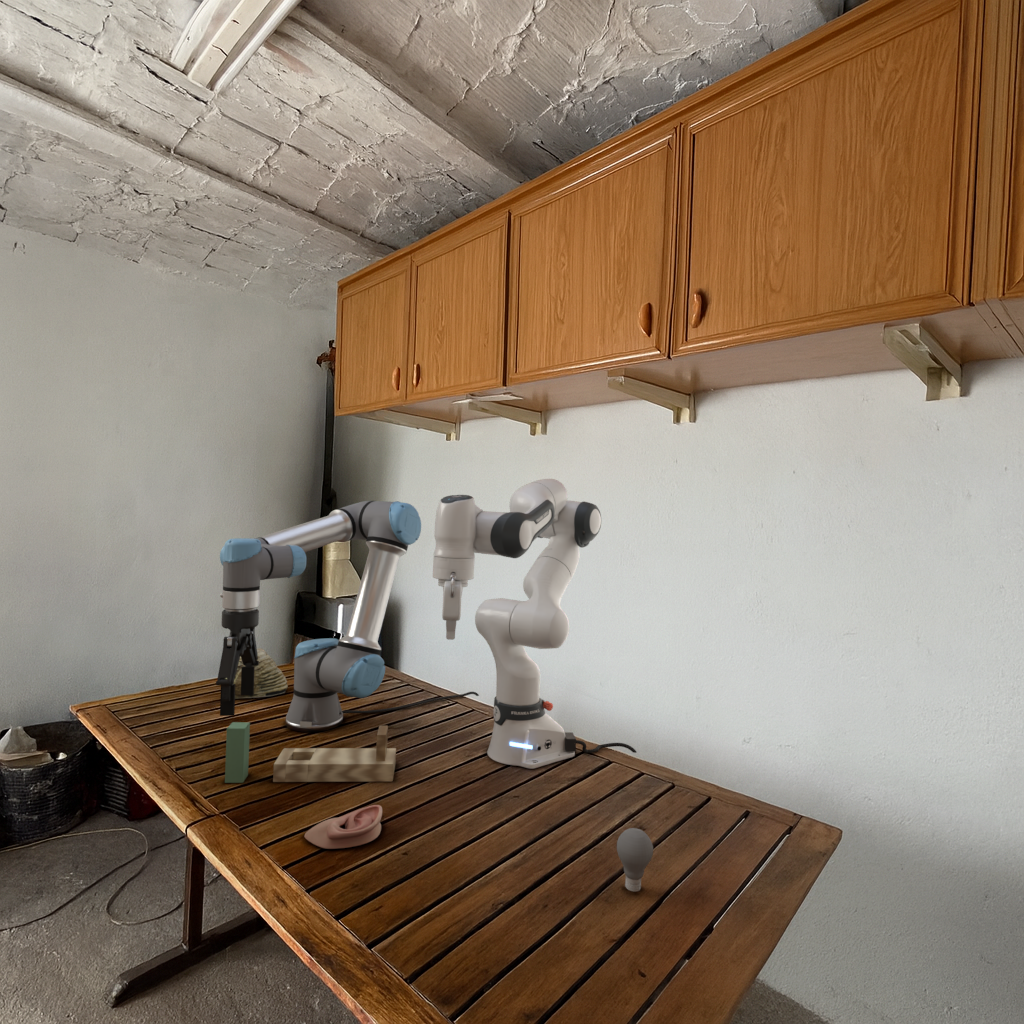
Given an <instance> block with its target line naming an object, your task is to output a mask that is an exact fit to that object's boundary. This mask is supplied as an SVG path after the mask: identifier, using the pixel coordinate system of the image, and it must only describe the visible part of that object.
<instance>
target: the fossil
mask: <svg viewBox="0 0 1024 1024" xmlns="http://www.w3.org/2000/svg"><path fill="white" fill-rule="evenodd" d="M257 655H258V660H257V661H259V665H258V666H253V667H255V671H254V695H241V669H242V666H245V665H243V662H242V659H241V657H240V660H239V664H238V668H237V672H236V675H235V679H234V684H235V700H236V699H237V700H238V699H252V698H253V699H255V698H258V699H259V698H266V697H273V696H274V697H275V696H277V695H282V694H285V693H286V691H287V690H288V687H289V685H288V680H287V678H286V676H285V674H284V673H283V671H282V669H280V668H279V667H278V666H277V663H276V661H274V659H273V658H272V657H271V656H270V655H269V654H268V653H267V651H265V649H263V648H257ZM225 679H227V678H225Z"/></svg>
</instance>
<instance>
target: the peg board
mask: <svg viewBox="0 0 1024 1024" xmlns="http://www.w3.org/2000/svg"><path fill="white" fill-rule="evenodd" d="M376 733H377V734H376V746H375V747H333V748H332V747H284V748H283V749H282V750H281V752H280V754H279V755H278V757H277V758H276V760H275V762H274V763H273V773H272V776H273V777H272V782H273V783H307V782H308V783H315V782H316V783H317V782H318V783H336V782H338V783H339V782H340V783H341V782H342V783H343V782H344V783H345V782H347V783H349V782H350V783H351V782H353V783H355V782H363V783H364V782H367V783H369V782H394V781H393V780H394V775H395V769H396V760H397V759H396V758H397V748H396V747H392V748H391V747H389V748H388V740H389V739H388V737H389V725H379V726H378V730H377V732H376Z"/></svg>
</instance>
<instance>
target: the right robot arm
mask: <svg viewBox="0 0 1024 1024" xmlns="http://www.w3.org/2000/svg"><path fill="white" fill-rule="evenodd" d="M438 501H439V502H438V505H437V507H436V513H435V521H434V533H433V534H434V539H435V547H434V552H433V558H432V578H433V579H436V580H438V583H437V585H438V586H439V587H442V612H441V613H442V614H441V616H442V620H443V621H445V629H446V630H445V631H446V633H445V634H446V635H445V638H446V640H449V641H451V640H455V639H456V629H457V622H458V621H459V622H460V620H461V615H462V614H461V613H462V598H463V597H462V596H463V591H464V588H467V587H468V585H469V584H468V582H469V581H471V580H473V579H474V578H475V559H476V558H475V554H482V555H489V556H490V555H492V556H501V557H505V558H511V559H518V558H520V557H523V555H524V554H526V553H527V552H528V550H529V549H530V547H531V545H532V543H533V542H534V541H535V540H536V539H537V538H539V539H549V540H548V544H547V546H546V547H545V548H544V549H543V550H542V551H541V553H539V555H538V556H537V558H536V559H535V561H534V562H533V564H532V565H531V566H530V568H529V570H528V571H527V573H526V574H525V576H524V578H523V582H522V588H523V591H524V594H525V596H526V597H527V598H528V599H526V600H518V599H510V598H504V597H501V598H499V597H498V598H489V599H488V598H487V599H484V600H483V601H482V602H481V603H480V604H479V606H478V607H477V609H476V611H475V615H474V624H475V627H476V630H477V632H478V634H479V635H481V636H482V638H483V639H484V640H485V641H486V643H487V645H488V647H489V649H490V651H491V654H492V657H493V661H494V664H495V672H496V673H495V674H496V675H495V676H496V677H495V678H496V687H495V688H496V689H495V690H496V691H495V697H494V700H493V713H492V714H493V727H492V732H491V737H490V742H489V744H488V745H489V746H488V748H487V751H486V754H487V756H488V757H489V758H490V759H491V760H492V761H494V762H496V763H499V764H504V765H508V766H509V765H510V766H515V767H516V766H518V767H522V768H526V769H530V770H531V769H537V768H540V767H541V768H542V767H544V766H547V765H550V764H554V763H556V762H560V761H563V760H567V759H570V758H573V757H575V756H576V753H575V752H576V751H577V745H581V746H582V752H583V753H585V754H593V753H597V752H599V751H600V749H605V748H613V747H621V748H626V749H628V750H629V751H630V752H632V753H633V754H634V753H635V754H636V753H637V750H636V749H635V748H634V747H632V746H631V745H630V744H627V743H623V742H609V743H603V744H602V743H601V744H598V745H596V747H595V748H591V749H587V744H586V742H584V741H583V740H581V739H577V738H576V736H575V734H574V732H572V731H571V732H567V731H566V732H565V730H564V728H563V727H562V726H561V724H560V723H558V722H557V721H556V720H555V719H554V718H553V717H551V716H550V715H549V714H548V713H546V710H547V711H548V712H551V711H552V710H553V709H554V704H553V703H552V702H550V701H548V700H546V701H545V700H544V699H542V698H541V697H540V696H541V677H542V676H541V669H540V666H539V665H538V664H537V662H535V661H534V660H533V659H532V658H531V657H530V656H529V654H528V653H527V651H526V648H525V647H528V648H534V649H539V650H547V649H548V650H552V649H559V648H560V647H562V646H563V645H564V643H565V642H566V641H567V639H568V637H569V633H570V628H571V627H570V621H569V620H570V619H569V618H568V615H567V613H566V612H565V611H564V610H563V608H562V606H561V601H562V598H563V596H564V594H565V592H566V590H567V588H568V586H569V584H570V583H571V581H572V580H573V577H574V575H575V573H576V571H577V568H578V564H579V561H580V557H581V554H580V548H586V547H587V546H589V544H590V542H592V541H593V540H594V539H595V538H596V537H597V535H599V532H600V530H601V527H602V514H601V511H600V509H599V507H598V506H597V505H596V504H594V503H591V502H588V501H575V500H568V490H567V488H566V487H565V485H564V484H563V483H562V482H561V481H559V480H557V479H555V478H542V479H538V480H534V481H530V482H528V483H526V484H524V485H522V486H520V487H519V488H518V489H516V490H515V491H514V492H513V493H512V495H511V497H510V499H509V511H508V512H505V511H487V510H484V509H481V508H480V507H479V506H477V504H476V503H475V498H474V497H473V496H471V495H468V494H452V495H451V494H450V495H446V496H443V497H442V498H441V499H440V500H438Z"/></svg>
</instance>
